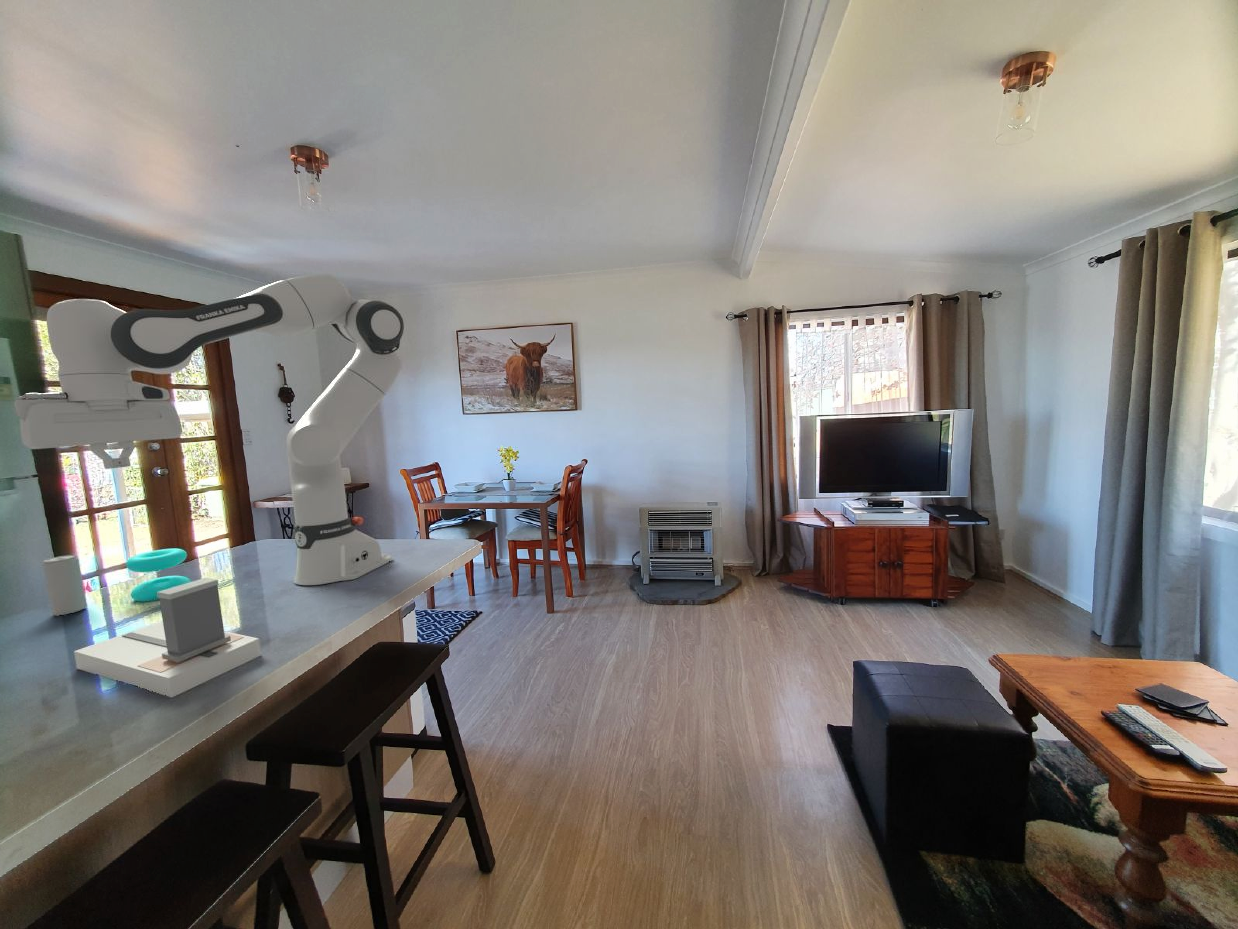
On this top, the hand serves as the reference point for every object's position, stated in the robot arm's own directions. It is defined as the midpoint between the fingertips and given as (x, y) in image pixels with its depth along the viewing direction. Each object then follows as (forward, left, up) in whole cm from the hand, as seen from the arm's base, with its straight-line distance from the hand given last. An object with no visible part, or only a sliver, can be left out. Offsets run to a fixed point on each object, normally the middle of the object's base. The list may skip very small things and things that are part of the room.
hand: (118, 467), depth 85 cm
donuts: (-12, -21, -32) cm, 40 cm away
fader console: (+6, +20, -32) cm, 38 cm away
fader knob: (+6, +29, -28) cm, 41 cm away
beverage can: (0, -29, -32) cm, 43 cm away
